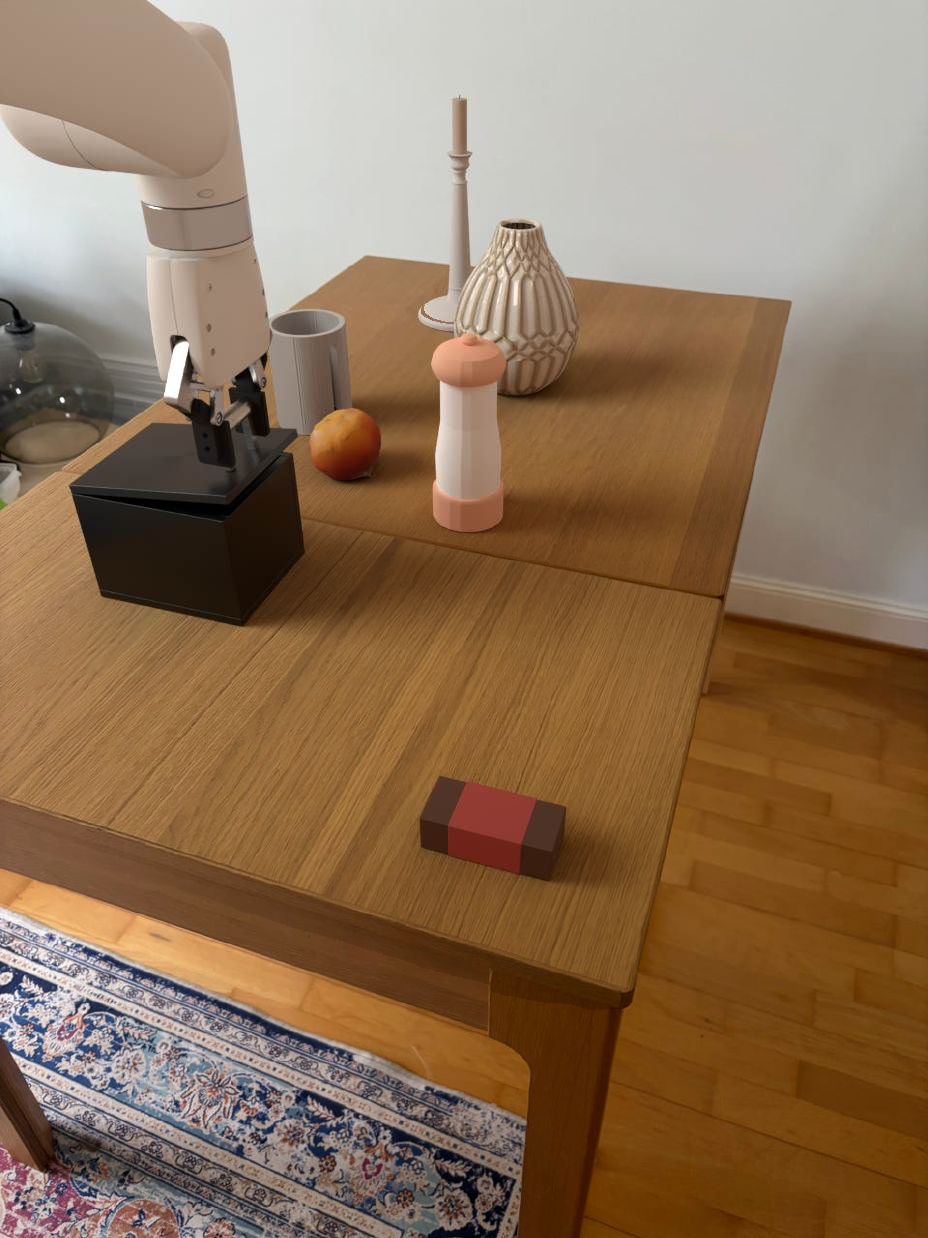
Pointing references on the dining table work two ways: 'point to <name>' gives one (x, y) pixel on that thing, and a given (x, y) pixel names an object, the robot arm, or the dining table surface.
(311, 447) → the fruit
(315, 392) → the cup
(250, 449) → the black lid
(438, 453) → the salt shaker
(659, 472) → the dining table surface
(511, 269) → the vase
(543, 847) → the chocolate bar
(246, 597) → the trash bin
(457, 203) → the candlestick
